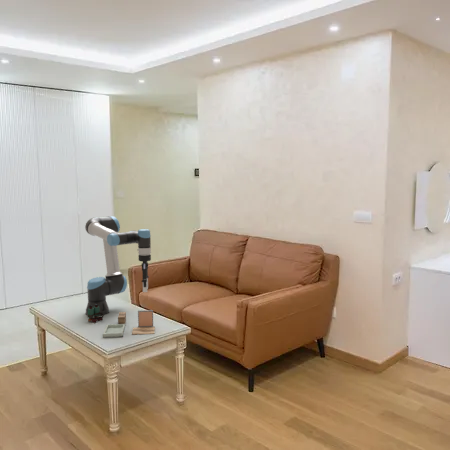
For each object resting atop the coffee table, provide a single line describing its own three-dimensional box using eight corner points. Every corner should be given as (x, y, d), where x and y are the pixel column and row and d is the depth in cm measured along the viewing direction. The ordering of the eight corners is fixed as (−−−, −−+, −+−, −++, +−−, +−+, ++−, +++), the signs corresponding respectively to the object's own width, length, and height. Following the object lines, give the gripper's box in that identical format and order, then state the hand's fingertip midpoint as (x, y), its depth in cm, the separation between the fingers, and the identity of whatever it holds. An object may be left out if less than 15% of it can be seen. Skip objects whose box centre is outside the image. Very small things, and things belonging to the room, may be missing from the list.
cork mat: (133, 328, 267) (133, 327, 267) (154, 327, 269) (154, 326, 269) (131, 334, 257) (131, 334, 256) (154, 333, 258) (154, 333, 258)
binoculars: (95, 309, 274) (85, 305, 279) (95, 325, 275) (85, 320, 281) (107, 305, 281) (97, 301, 286) (106, 321, 283) (96, 316, 288)
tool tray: (106, 328, 268) (106, 324, 268) (125, 327, 269) (125, 323, 269) (102, 337, 252) (102, 334, 252) (122, 336, 253) (122, 333, 253)
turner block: (119, 321, 280) (119, 312, 280) (126, 321, 281) (125, 312, 280) (118, 326, 271) (117, 317, 270) (124, 326, 271) (124, 317, 270)
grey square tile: (138, 326, 271) (138, 310, 270) (153, 325, 272) (152, 310, 271) (138, 327, 269) (137, 311, 268) (153, 326, 271) (152, 310, 269)
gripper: (139, 251, 282) (140, 286, 284) (137, 257, 261) (138, 294, 263) (151, 251, 282) (152, 285, 285) (150, 257, 262) (150, 294, 264)
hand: (145, 290), depth 274 cm, fingers open, 8 cm apart
